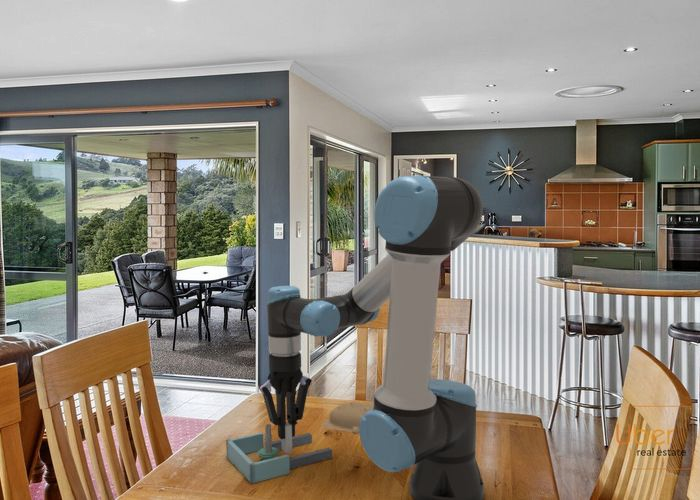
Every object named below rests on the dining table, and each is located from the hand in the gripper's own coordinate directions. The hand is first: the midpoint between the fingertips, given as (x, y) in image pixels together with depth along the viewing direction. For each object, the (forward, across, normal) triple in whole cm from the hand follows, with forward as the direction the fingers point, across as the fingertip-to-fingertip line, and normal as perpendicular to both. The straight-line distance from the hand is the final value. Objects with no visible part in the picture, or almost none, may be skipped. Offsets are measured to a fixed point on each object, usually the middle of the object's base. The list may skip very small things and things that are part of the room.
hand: (286, 450), depth 138 cm
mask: (+2, -29, -6) cm, 30 cm away
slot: (+2, -3, 0) cm, 3 cm away
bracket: (+2, +7, 0) cm, 8 cm away
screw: (+2, +4, -1) cm, 5 cm away
